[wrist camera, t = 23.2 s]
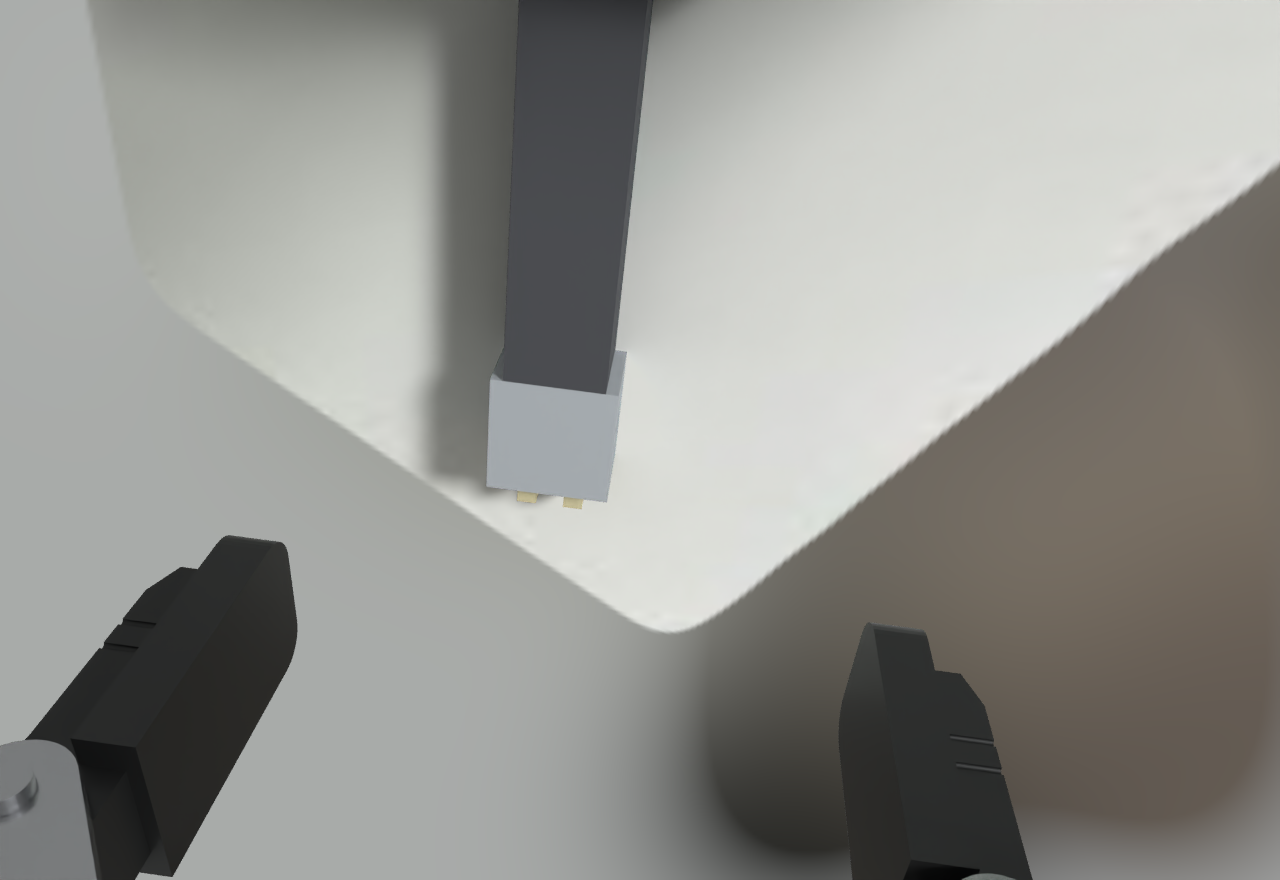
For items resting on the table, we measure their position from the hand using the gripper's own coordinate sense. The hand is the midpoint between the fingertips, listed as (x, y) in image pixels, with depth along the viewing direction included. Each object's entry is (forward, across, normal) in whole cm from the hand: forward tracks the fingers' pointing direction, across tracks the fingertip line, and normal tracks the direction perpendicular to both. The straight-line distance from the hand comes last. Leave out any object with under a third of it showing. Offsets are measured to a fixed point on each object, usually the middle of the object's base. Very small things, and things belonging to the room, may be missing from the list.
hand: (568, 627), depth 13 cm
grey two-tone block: (+26, +4, +4) cm, 27 cm away
